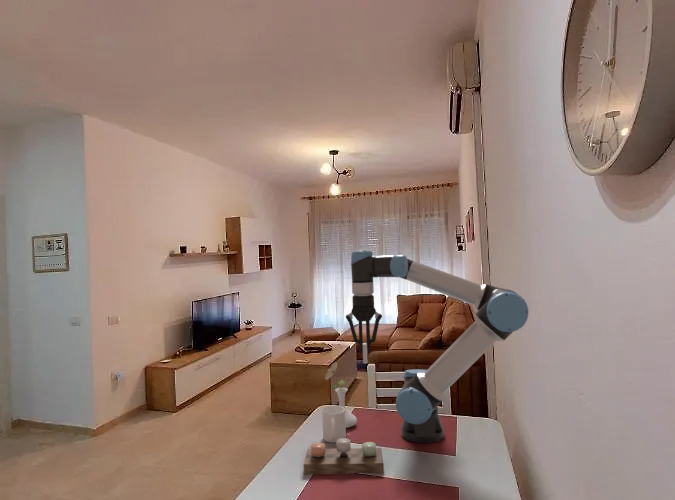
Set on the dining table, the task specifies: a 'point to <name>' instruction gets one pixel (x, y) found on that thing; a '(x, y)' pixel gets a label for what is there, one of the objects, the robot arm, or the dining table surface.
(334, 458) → the cardboard egg tray
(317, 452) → the orange egg
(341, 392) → the flower in vase
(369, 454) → the sage egg
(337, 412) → the mug
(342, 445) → the grey egg
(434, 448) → the dining table surface
